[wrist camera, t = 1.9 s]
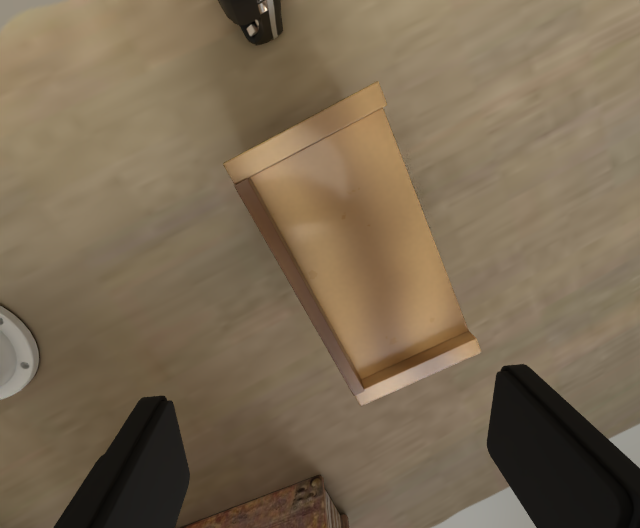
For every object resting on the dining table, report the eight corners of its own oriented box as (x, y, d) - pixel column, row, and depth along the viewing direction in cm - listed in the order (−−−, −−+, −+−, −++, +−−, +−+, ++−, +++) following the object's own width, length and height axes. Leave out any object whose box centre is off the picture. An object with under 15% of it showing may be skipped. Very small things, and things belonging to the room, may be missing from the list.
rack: (342, 337, 39) (361, 409, 28) (246, 160, 32) (221, 163, 21) (429, 296, 38) (483, 354, 27) (349, 106, 31) (379, 79, 20)
